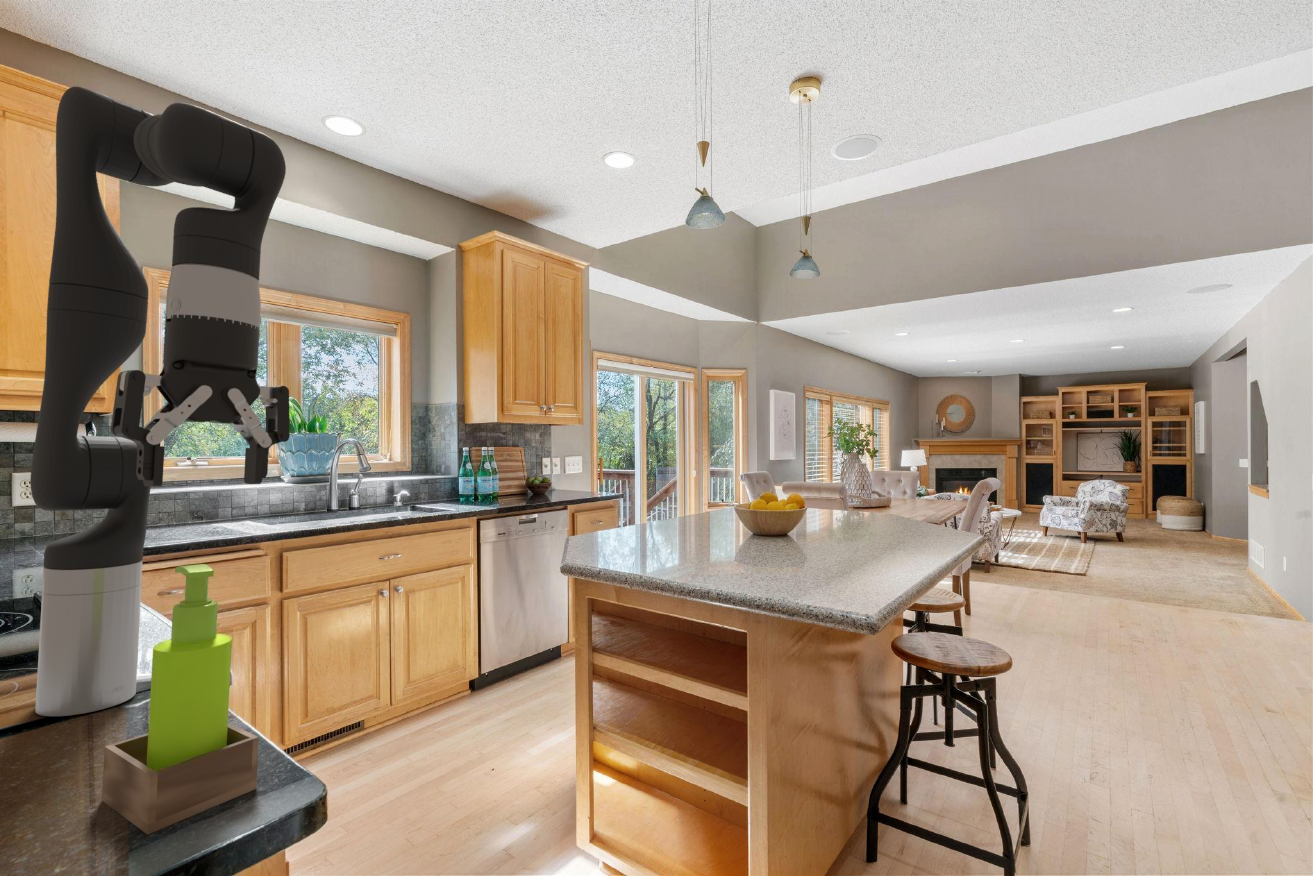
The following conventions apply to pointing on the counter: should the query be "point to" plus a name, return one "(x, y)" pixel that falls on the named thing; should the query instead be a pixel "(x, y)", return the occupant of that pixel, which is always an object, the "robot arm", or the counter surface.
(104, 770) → the walnut caddy
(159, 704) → the soap dispenser
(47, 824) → the counter surface
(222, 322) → the robot arm
